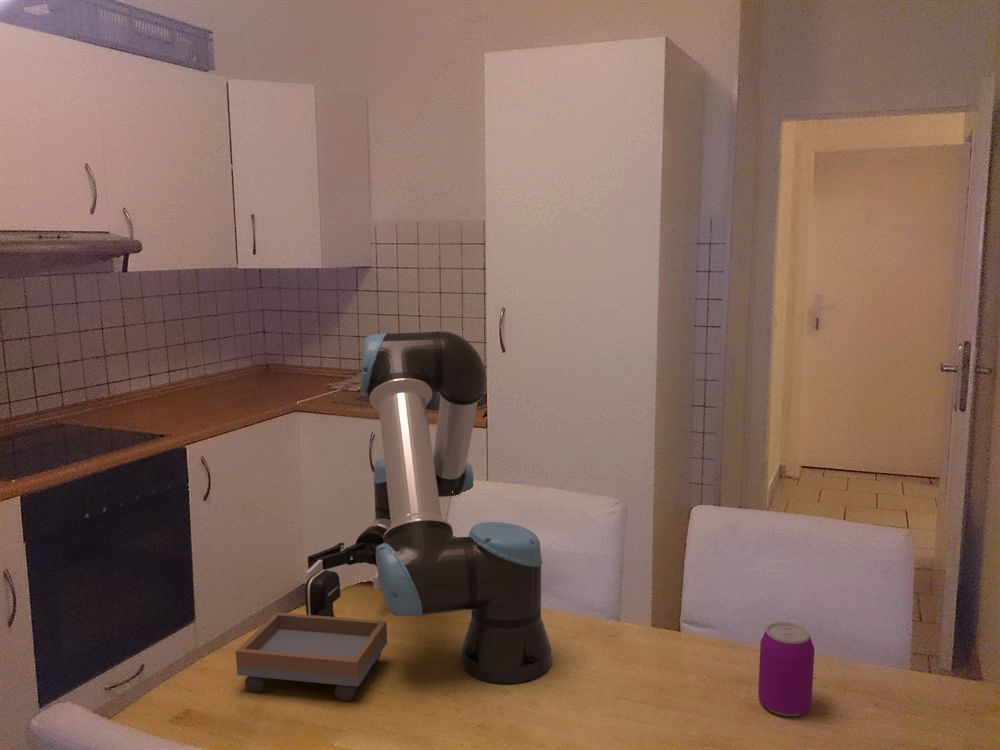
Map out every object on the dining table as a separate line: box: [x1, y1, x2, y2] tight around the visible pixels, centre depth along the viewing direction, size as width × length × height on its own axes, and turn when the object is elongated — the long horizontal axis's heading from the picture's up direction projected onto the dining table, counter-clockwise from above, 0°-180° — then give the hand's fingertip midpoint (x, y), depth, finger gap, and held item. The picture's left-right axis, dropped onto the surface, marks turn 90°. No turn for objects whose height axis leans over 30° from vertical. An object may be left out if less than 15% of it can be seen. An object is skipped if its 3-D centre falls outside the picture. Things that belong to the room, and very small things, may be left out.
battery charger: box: [304, 569, 341, 617], centre depth 150 cm, size 7×4×11 cm, turn 162°
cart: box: [235, 611, 388, 703], centre depth 136 cm, size 20×14×7 cm
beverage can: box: [757, 621, 815, 717], centre depth 126 cm, size 8×8×12 cm
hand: (341, 581), depth 158 cm, fingers open, 13 cm apart
